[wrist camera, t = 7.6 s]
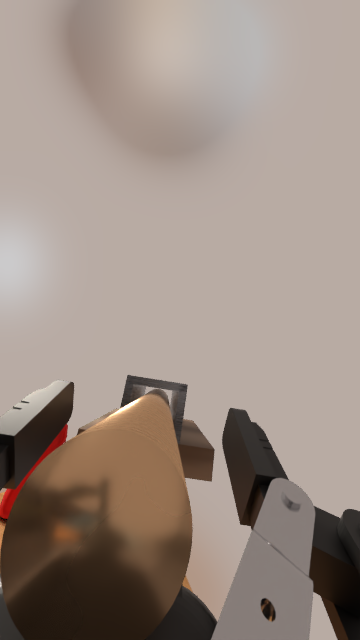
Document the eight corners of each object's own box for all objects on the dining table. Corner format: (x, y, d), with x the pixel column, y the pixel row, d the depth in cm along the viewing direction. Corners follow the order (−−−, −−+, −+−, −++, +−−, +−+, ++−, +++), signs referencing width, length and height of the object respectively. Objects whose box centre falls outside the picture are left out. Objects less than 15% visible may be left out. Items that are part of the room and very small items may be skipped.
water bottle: (30, 530, 46) (65, 411, 54) (-11, 518, 48) (29, 404, 55) (57, 507, 55) (84, 408, 63) (21, 498, 57) (52, 402, 64)
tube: (177, 679, 3) (202, 441, 4) (-36, 650, 3) (40, 417, 3) (166, 414, 26) (169, 390, 26) (143, 410, 26) (148, 387, 26)
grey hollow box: (179, 444, 15) (187, 384, 16) (114, 434, 15) (127, 375, 16) (173, 417, 26) (178, 383, 28) (136, 411, 26) (143, 378, 28)
